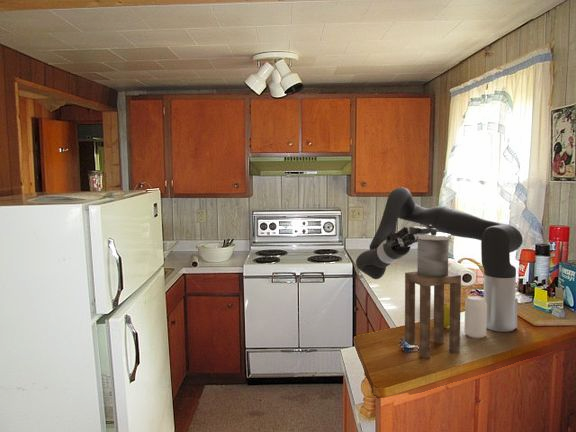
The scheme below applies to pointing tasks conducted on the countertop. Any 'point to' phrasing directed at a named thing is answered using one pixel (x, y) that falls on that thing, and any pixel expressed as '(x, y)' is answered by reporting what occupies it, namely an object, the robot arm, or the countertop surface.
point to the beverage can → (475, 316)
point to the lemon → (446, 315)
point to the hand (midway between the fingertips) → (419, 228)
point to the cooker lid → (428, 233)
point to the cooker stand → (434, 274)
